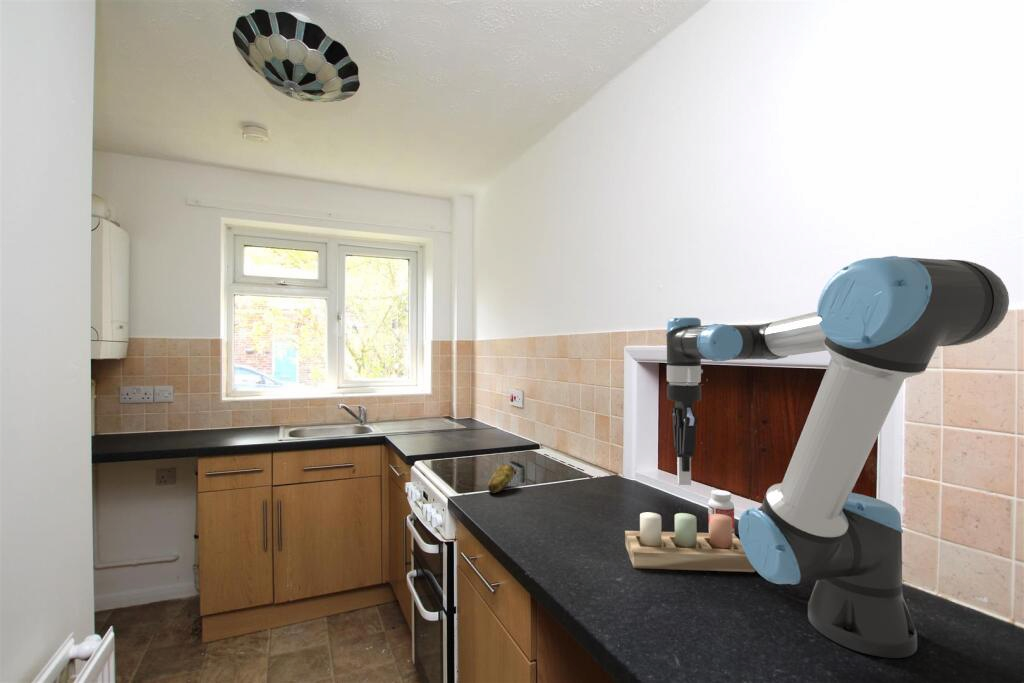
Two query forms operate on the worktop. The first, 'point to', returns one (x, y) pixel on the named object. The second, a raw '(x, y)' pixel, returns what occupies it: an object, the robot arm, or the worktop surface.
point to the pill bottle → (721, 505)
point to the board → (686, 554)
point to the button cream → (650, 529)
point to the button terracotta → (721, 531)
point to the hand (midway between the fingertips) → (684, 483)
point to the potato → (500, 478)
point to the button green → (685, 530)
